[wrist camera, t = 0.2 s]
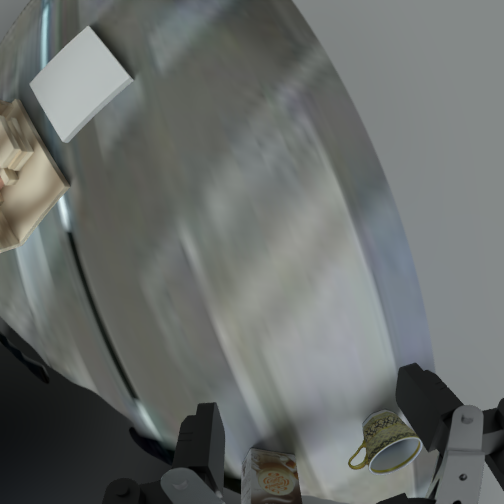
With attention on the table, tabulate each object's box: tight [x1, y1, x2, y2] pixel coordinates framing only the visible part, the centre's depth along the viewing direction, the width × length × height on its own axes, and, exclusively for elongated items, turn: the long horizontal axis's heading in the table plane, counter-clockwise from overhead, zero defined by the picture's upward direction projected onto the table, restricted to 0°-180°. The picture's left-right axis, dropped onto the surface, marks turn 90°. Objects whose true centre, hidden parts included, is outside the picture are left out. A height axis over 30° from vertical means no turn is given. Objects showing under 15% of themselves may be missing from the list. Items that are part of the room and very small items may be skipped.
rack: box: [0, 99, 70, 253], centre depth 33 cm, size 20×14×6 cm
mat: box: [29, 26, 134, 143], centre depth 33 cm, size 14×13×2 cm
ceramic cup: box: [348, 409, 423, 475], centre depth 42 cm, size 13×10×10 cm
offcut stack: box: [0, 115, 34, 171], centre depth 32 cm, size 8×4×4 cm, turn 37°
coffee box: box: [241, 448, 302, 504], centre depth 41 cm, size 9×6×16 cm
